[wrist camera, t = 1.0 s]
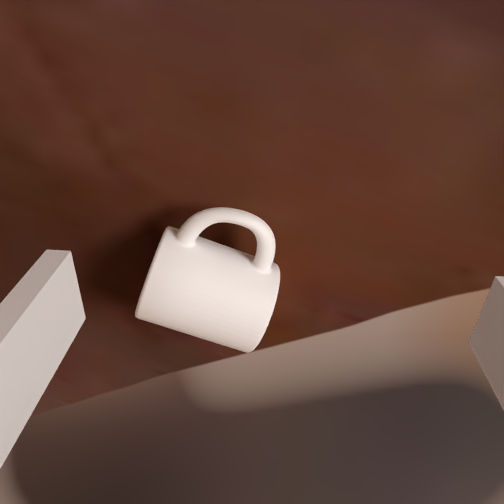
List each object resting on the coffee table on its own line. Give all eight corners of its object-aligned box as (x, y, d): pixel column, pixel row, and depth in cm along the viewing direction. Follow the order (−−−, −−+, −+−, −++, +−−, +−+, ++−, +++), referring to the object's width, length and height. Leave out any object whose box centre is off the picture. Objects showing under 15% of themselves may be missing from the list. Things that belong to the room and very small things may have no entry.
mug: (248, 310, 43) (243, 372, 36) (150, 278, 41) (126, 337, 34) (299, 210, 37) (305, 262, 30) (187, 167, 35) (166, 212, 28)
